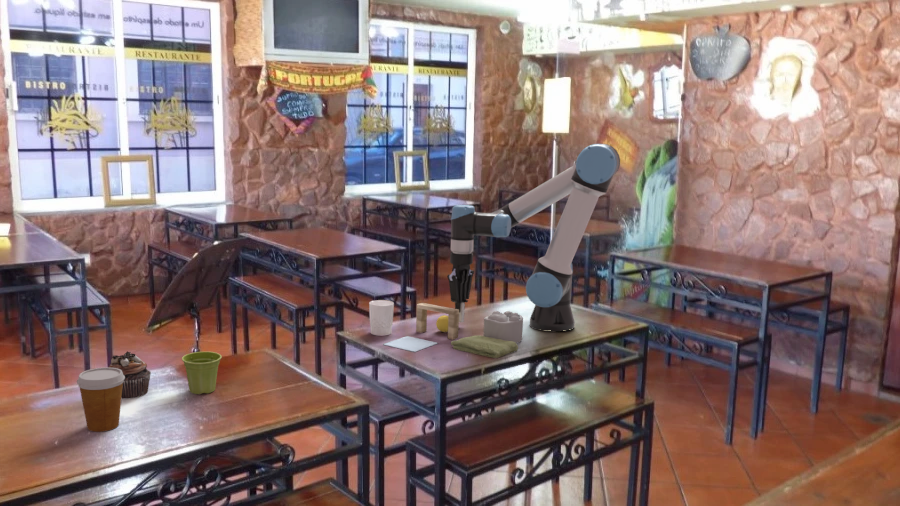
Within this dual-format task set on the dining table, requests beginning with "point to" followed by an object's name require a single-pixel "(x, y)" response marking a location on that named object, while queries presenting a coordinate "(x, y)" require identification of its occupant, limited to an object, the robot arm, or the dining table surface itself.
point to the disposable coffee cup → (101, 397)
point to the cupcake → (132, 375)
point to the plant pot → (201, 371)
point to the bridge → (452, 317)
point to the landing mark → (410, 344)
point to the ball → (442, 323)
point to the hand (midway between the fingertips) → (459, 321)
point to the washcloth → (485, 346)
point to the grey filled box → (504, 326)
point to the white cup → (381, 317)
